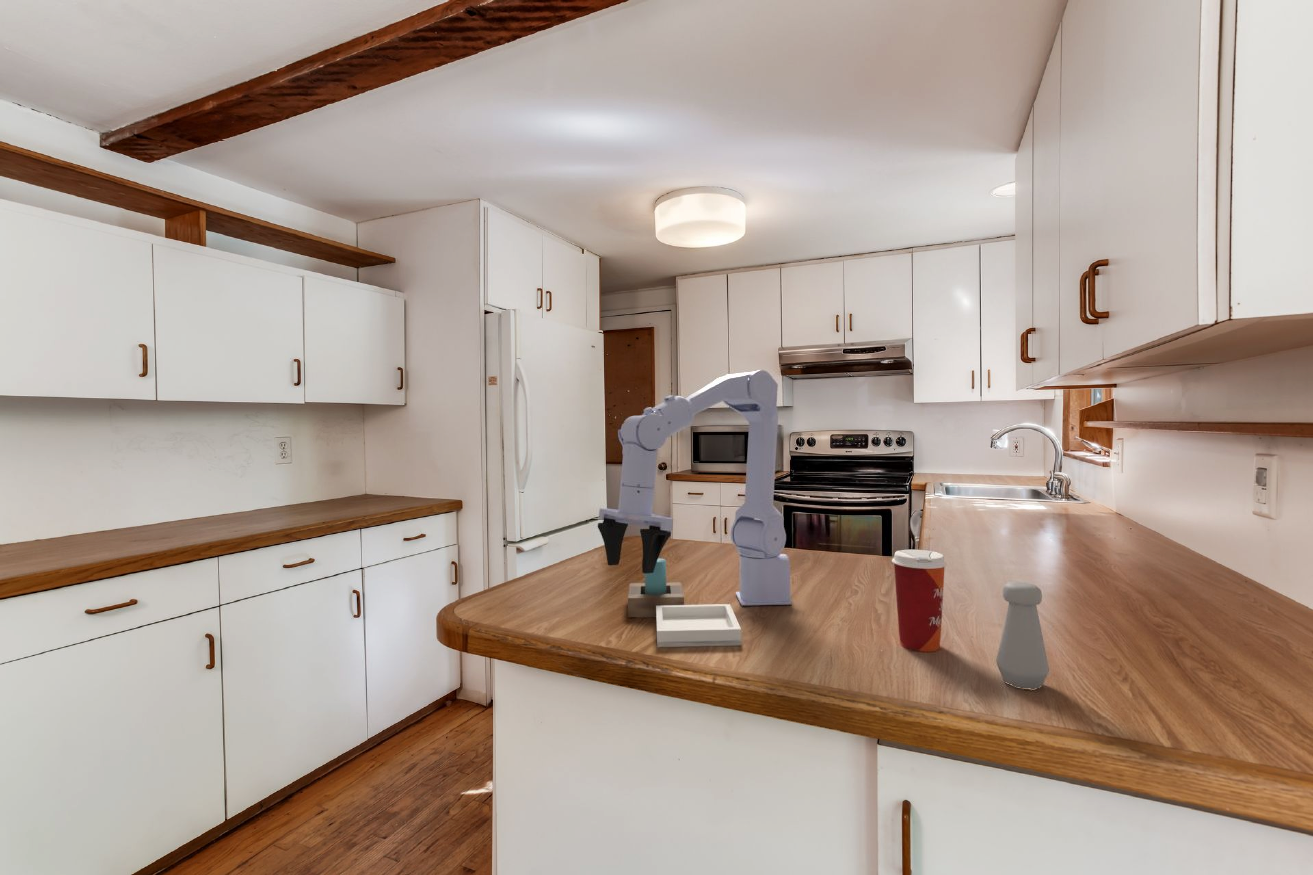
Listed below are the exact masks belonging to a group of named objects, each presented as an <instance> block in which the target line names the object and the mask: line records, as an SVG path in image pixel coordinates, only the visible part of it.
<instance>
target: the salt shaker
mask: <svg viewBox="0 0 1313 875" xmlns="http://www.w3.org/2000/svg"><path fill="white" fill-rule="evenodd" d="M1001 592H1002V597H1003V600H1004V601H1006V602H1007V603H1008V606H1007V611H1006V615H1005V618H1004V624H1003V627H1002V628H1003V629H1002V633H1001V635H1000V636H1001V637H1000V641H999V646H998V650H997V655H996V658H995V659H996V660H995V663H996V666H997V668H998V670H999V673H1000V675H1001V677H1002V679H1003V681H1004V683H1005V682H1007V683H1009V684H1012V685H1013V686H1016V687H1020V688H1031V689H1035V688H1039V687H1040V686H1042V687H1043V684H1044V683H1045V681H1046V679H1047V678H1048V675H1049V672H1050V667H1049V662H1048V657H1047V651H1046V646H1045V643H1044V642H1045V641H1044V638H1043V636H1044V635H1043V632H1042V627H1041V626H1042V625H1041V621H1040V617H1039V611H1038V607H1037V606H1038V605H1040V604H1041V603H1042V600H1043V594H1042V590H1041V589H1040V588H1039V586H1037V585H1036V584H1034V583H1031V582H1026V581H1009V582H1006V583H1005V584H1004V585H1003V586H1002V591H1001ZM1039 689H1040V688H1039Z"/></svg>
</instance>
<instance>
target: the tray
mask: <svg viewBox="0 0 1313 875" xmlns="http://www.w3.org/2000/svg"><path fill="white" fill-rule="evenodd" d="M655 618H656V621H655V622H656V644H657V645H656V647H657V648H676V647H677V648H679V647H683V648H685V647H715V646H716V647H722V646H723V647H724V646H729V647H731V646H742V628H741V626H740V624H739V622H738V619H737V617H736V615H735V612H734V610H733V607H732V606H731V604H730V603H720V604H714V603H713V604H684V605H664V606H656V617H655Z"/></svg>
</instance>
